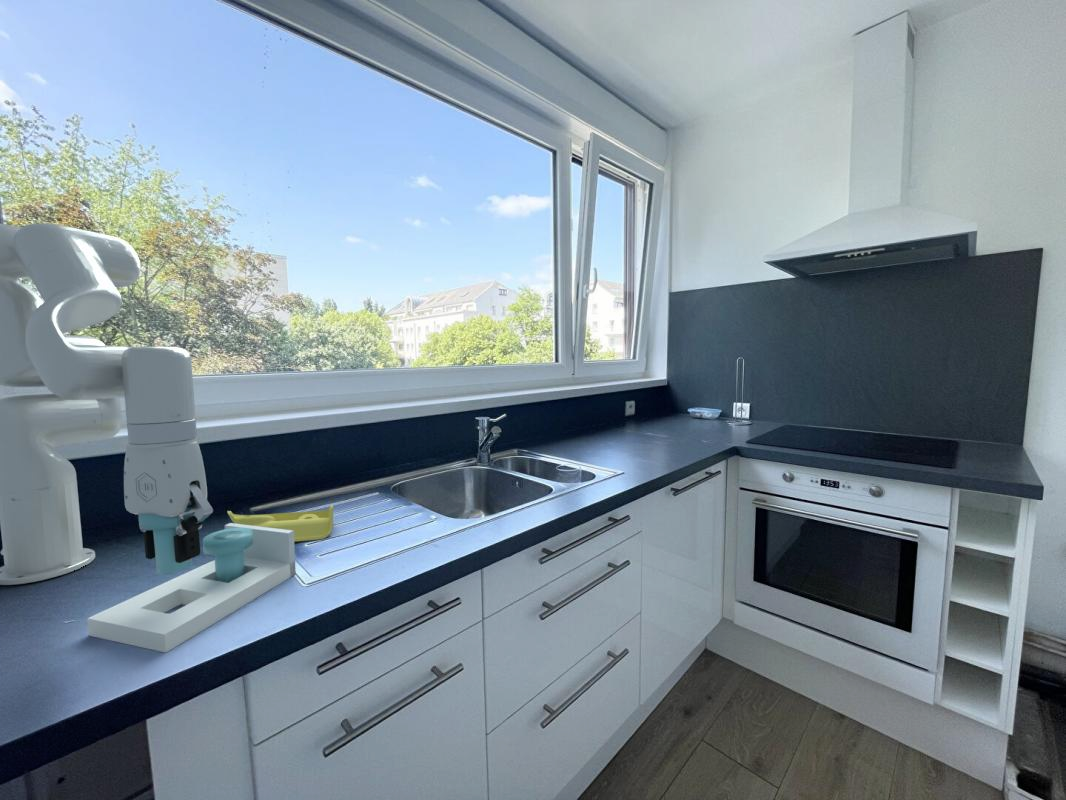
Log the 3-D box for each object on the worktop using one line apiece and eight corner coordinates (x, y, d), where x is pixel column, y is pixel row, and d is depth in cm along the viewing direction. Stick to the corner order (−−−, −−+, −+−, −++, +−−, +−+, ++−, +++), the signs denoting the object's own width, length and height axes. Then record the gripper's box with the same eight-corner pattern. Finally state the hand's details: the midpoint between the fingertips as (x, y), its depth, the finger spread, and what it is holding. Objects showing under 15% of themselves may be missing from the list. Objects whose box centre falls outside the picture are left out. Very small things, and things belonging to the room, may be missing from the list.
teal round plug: (131, 576, 62) (125, 514, 61) (180, 556, 69) (175, 499, 68) (168, 581, 60) (162, 517, 60) (215, 560, 67) (210, 502, 66)
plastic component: (331, 510, 106) (333, 503, 98) (330, 542, 103) (332, 538, 95) (232, 516, 97) (225, 509, 89) (228, 552, 94) (221, 548, 86)
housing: (88, 635, 61) (83, 579, 60) (232, 564, 82) (230, 523, 82) (165, 652, 58) (161, 593, 57) (295, 574, 79) (293, 530, 78)
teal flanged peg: (195, 594, 72) (191, 541, 71) (233, 575, 78) (230, 525, 78) (228, 600, 70) (225, 545, 69) (264, 579, 77) (262, 529, 76)
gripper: (88, 436, 62) (100, 562, 63) (182, 440, 57) (193, 575, 59) (147, 428, 69) (157, 541, 70) (234, 431, 65) (243, 551, 66)
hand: (173, 555), depth 65 cm, fingers closed on teal round plug, 4 cm apart
